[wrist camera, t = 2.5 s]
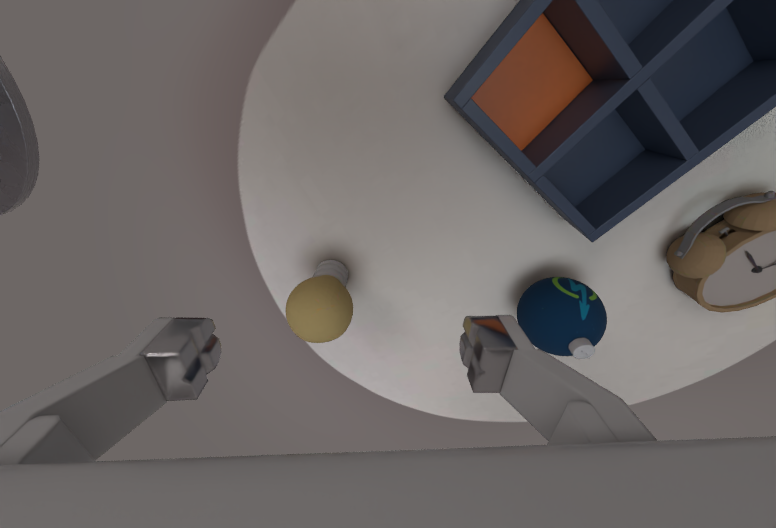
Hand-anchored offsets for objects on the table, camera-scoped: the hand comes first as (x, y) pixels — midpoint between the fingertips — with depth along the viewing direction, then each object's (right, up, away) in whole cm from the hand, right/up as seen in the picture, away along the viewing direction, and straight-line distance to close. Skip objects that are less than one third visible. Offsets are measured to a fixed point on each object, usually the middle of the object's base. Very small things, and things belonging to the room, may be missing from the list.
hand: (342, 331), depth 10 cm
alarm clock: (+37, +4, +22) cm, 44 cm away
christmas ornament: (+20, -1, +26) cm, 33 cm away
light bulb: (-5, +2, +25) cm, 26 cm away
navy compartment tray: (+19, +17, +15) cm, 29 cm away
